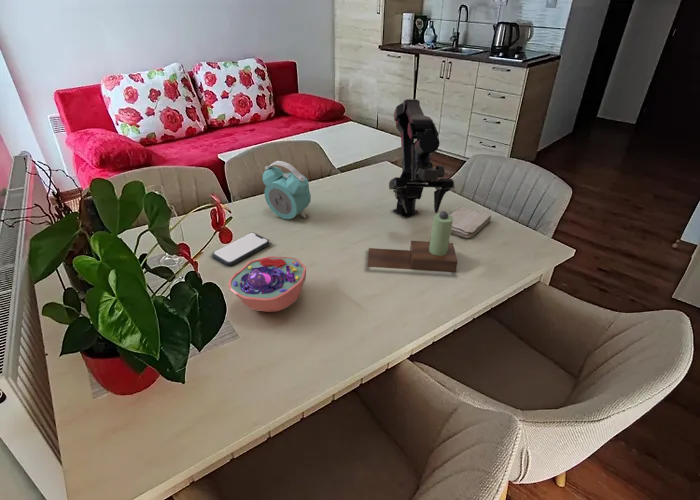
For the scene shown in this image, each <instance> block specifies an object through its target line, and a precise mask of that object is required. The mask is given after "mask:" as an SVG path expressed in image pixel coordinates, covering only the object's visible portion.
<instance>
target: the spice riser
mask: <svg viewBox="0 0 700 500" xmlns="http://www.w3.org/2000/svg"><path fill="white" fill-rule="evenodd" d="M429 246H430V241H426V240H425V241H424V240H410V246H409V250H408V249H390V248H375V247H374V248H373V247H368V254H367V268H381V269H396V270H400V269H401V270H413V271H414V270H415V271H432V272H448V273H457V268H458V263H459V261H458V258H457V253H456V249H455V246H454V243H453V242H449V245H448V250H447V254H445V255H443V256H437V255H433V254H432V253H430V251H429Z"/></svg>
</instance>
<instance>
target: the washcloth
mask: <svg viewBox="0 0 700 500" xmlns="http://www.w3.org/2000/svg"><path fill="white" fill-rule="evenodd" d="M449 215H451V216H452V217H453V222H452V228H451V233H450V234H452V235H455V236H458V237H461V238H463V239H470V238H473V237H474V236H475V235H476V234H477V233H478V232H480V231H481V230H482V229H483V228H484V227H485V226H486V225H487V224H488V223H489V222H490V220H491V218H492V215H490V214H487V213H484V212H480V211H475V210H474V209H472V208H468V207H465V206H459V207H458V208H457V209H455V210H453V212H451V213H450V214H449Z"/></svg>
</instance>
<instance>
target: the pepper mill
mask: <svg viewBox="0 0 700 500" xmlns="http://www.w3.org/2000/svg"><path fill="white" fill-rule="evenodd" d="M452 222H453V217H452V216H451V215H450V214H449V213H448V212H447V211H445V210H443V211H442V210H441V211H440V212H437V213H435V214H434V215H433V221H432V227H431V232H430V233H431V234H430V241H429V242H430V246H429V251H430V253H432V254H433V255H437V256H443V255H445V254H447V250H448V245H449V243H450V239H451V234H452V233H451V228H452Z"/></svg>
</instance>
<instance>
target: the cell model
mask: <svg viewBox="0 0 700 500" xmlns="http://www.w3.org/2000/svg"><path fill="white" fill-rule="evenodd" d="M306 279H307V267H306V265H305V264H304V263H303V262H302V261H301V260H300V259H298V258H295V257H291V256H290V257H288V256H265V257H260V258H255V259H253V260H252V259H251V260H249V261H248V262H246V263H245V265H244V266H243V267H242V268H241V269H239V270H238V271H237V272H235V273H234V274H233V275H232V276H231V277H230V279H229V281H228V288H229V291H230V292H232V294H234V295H235V296H236V297H237V299H239V300H240V301H241V303H242V304H243V305H244V306H246V307H247V308H248V309H249V310H251V311H254V312H255V311H257V312H258V311H259V312H266V313H267V312H268V313H276V312H280V311H283V310H285V309H286V308H288V307H289V306H291V305H292V304H294V303H295V302H296V301H297V300H298V299H299V297H300V295H301V292H302V288H303V286H304V285H305V282H306Z"/></svg>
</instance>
